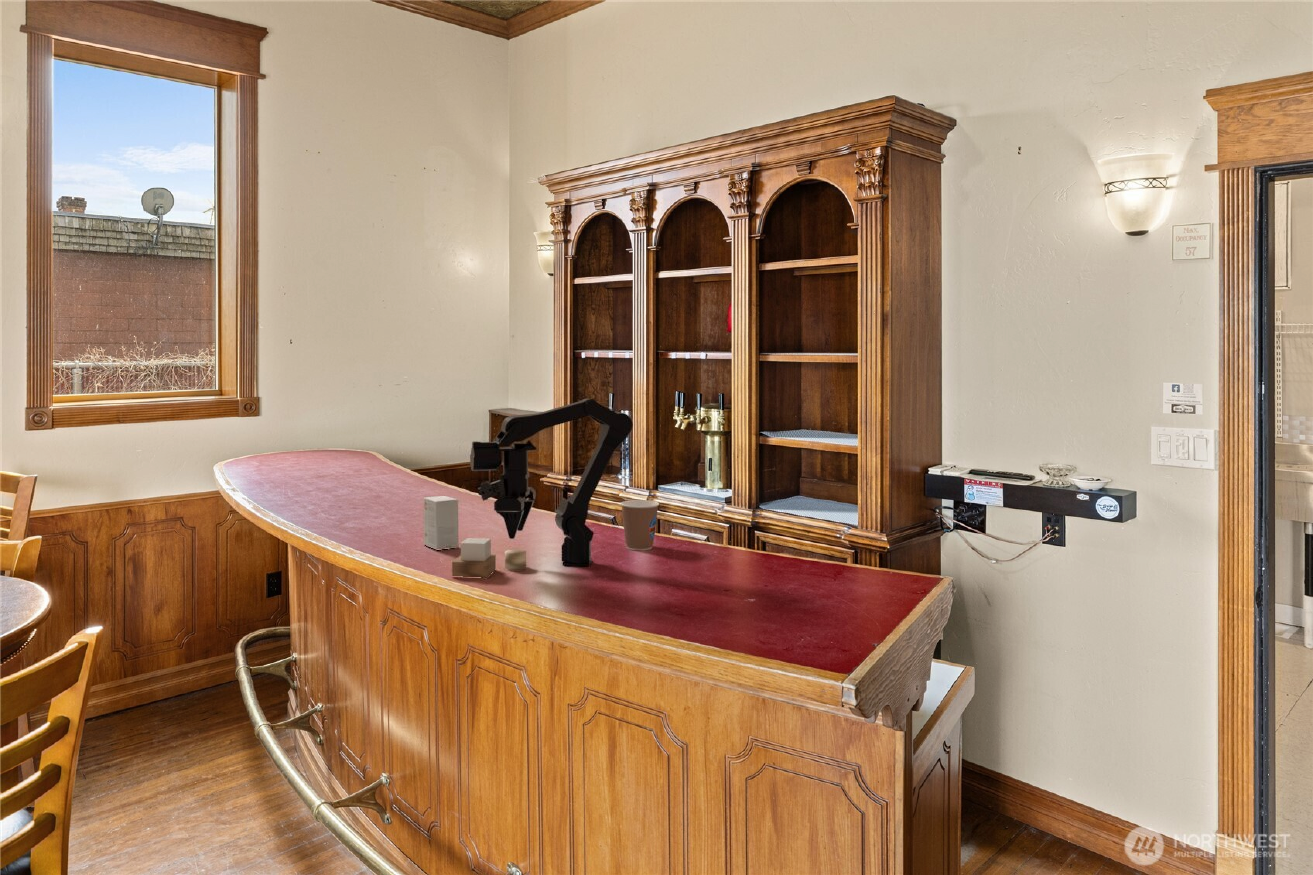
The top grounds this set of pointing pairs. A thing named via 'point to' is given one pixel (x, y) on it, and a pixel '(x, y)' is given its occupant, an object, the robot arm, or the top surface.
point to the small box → (441, 522)
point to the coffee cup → (639, 523)
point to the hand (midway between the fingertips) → (516, 534)
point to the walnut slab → (474, 567)
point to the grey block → (476, 549)
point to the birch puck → (515, 559)
